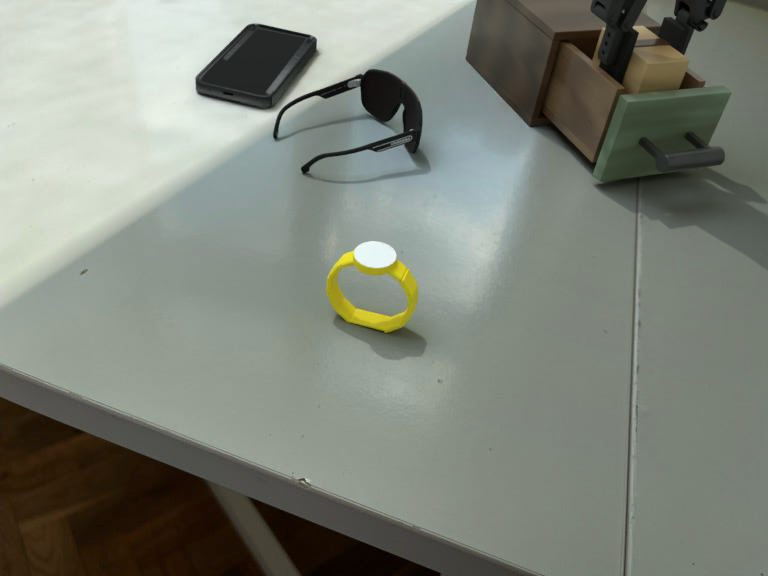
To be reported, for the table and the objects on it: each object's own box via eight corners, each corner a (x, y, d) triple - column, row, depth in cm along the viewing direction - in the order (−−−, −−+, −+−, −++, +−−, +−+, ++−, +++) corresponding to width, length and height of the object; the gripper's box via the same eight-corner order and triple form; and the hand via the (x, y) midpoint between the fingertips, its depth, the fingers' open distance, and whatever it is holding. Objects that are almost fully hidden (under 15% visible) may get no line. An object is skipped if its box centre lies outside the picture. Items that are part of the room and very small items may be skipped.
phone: (319, 37, 83) (270, 98, 72) (319, 47, 84) (270, 109, 73) (249, 21, 84) (190, 80, 73) (249, 31, 85) (190, 91, 73)
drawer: (728, 195, 69) (766, 117, 64) (627, 210, 66) (660, 129, 61) (616, 97, 81) (641, 25, 76) (525, 106, 78) (545, 30, 72)
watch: (415, 321, 54) (429, 254, 50) (404, 348, 52) (417, 280, 48) (333, 296, 55) (340, 229, 51) (319, 322, 53) (325, 253, 49)
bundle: (670, 113, 70) (692, 58, 67) (627, 117, 68) (647, 62, 65) (625, 76, 75) (644, 24, 71) (584, 79, 73) (601, 26, 70)
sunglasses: (435, 159, 70) (438, 110, 66) (315, 202, 65) (311, 152, 62) (376, 103, 76) (376, 56, 72) (263, 138, 72) (257, 90, 68)
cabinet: (630, 116, 81) (663, 26, 74) (529, 126, 76) (554, 32, 70) (558, 52, 90) (581, -32, 84) (465, 58, 86) (482, -30, 80)
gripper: (788, -207, 62) (679, 68, 77) (601, -222, 55) (523, 80, 71) (861, -183, 57) (729, 106, 72) (665, -197, 50) (566, 122, 66)
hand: (627, 93), depth 71 cm, fingers closed on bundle, 5 cm apart
